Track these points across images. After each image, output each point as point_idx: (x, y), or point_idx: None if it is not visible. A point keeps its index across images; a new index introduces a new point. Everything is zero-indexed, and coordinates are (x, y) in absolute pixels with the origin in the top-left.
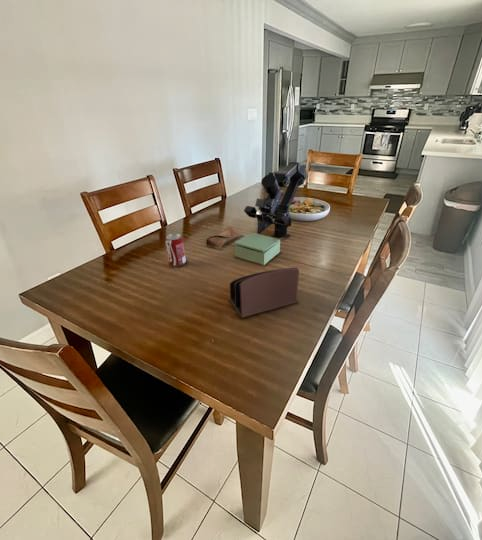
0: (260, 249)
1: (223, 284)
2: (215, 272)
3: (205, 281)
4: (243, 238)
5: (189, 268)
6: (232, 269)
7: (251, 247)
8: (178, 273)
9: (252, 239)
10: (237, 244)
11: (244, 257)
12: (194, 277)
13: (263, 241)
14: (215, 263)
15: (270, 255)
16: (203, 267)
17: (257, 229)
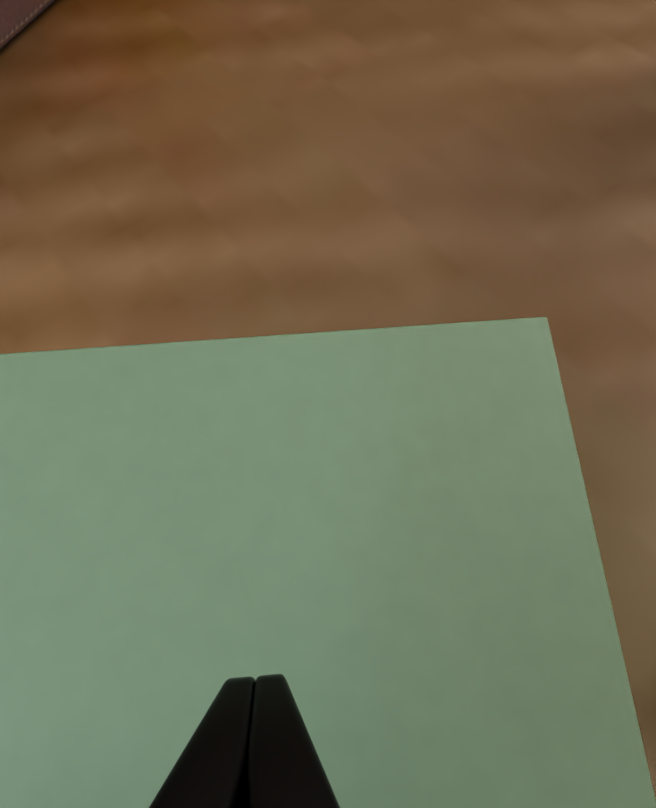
0: (27, 358)
1: (239, 73)
2: (414, 143)
3: (377, 38)
4: (569, 563)
5: (629, 81)
6: (329, 247)
7: (200, 340)
8: (620, 9)
9: (405, 648)
10: (475, 330)
11: None
12: (484, 31)
13: (159, 715)
14: (539, 238)
15: None
16: (559, 143)
17: (303, 735)
